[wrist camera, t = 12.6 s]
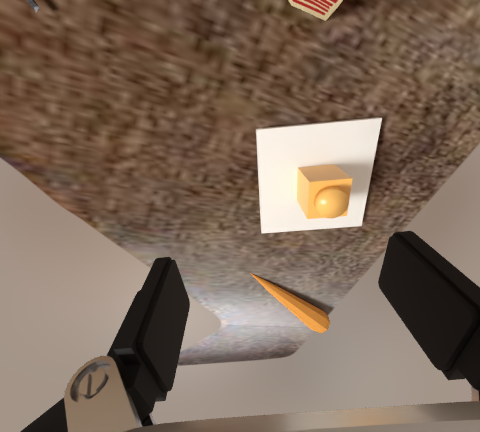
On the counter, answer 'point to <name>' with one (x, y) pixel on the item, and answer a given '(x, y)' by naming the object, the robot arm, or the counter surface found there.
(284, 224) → the white plate
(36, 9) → the screwdriver
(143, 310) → the robot arm
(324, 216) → the gold domed block
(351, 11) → the counter surface
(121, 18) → the counter surface
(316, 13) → the milk carton
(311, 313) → the carrot
